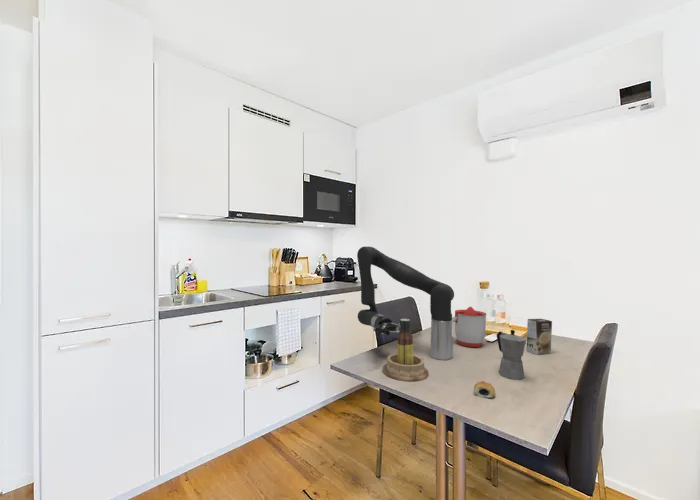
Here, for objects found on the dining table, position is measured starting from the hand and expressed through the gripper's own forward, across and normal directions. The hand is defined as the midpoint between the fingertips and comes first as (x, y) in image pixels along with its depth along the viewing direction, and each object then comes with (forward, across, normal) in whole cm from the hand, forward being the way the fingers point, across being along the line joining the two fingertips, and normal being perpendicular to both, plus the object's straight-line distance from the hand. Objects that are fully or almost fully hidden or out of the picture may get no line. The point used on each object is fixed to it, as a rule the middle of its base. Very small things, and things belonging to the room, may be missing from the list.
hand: (397, 332), depth 133 cm
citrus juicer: (-18, +51, +14) cm, 56 cm away
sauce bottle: (+7, 0, +13) cm, 15 cm away
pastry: (+31, +17, +14) cm, 38 cm away
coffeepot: (+20, +40, +14) cm, 47 cm away
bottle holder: (+7, 0, +14) cm, 16 cm away
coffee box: (+2, +77, +14) cm, 78 cm away
